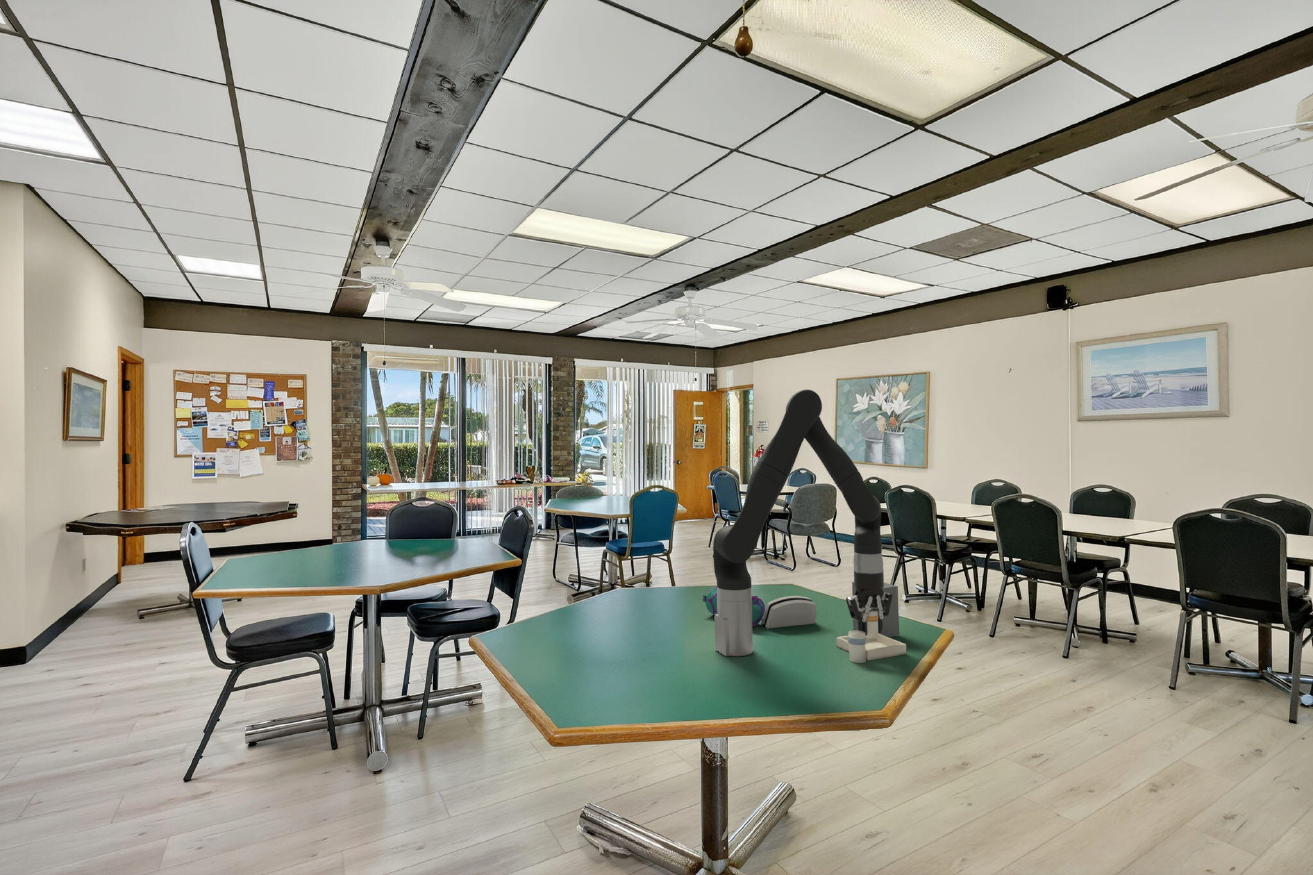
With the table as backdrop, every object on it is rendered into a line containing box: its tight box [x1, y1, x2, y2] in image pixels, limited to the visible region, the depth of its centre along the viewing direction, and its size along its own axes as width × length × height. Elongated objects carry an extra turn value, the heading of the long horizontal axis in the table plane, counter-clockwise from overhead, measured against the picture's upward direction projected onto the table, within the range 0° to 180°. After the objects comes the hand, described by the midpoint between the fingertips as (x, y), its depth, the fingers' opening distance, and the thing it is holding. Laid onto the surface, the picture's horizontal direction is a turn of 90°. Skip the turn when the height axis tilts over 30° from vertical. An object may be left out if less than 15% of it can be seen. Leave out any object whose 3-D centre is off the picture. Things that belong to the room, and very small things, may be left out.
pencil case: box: [702, 586, 766, 627], centre depth 195 cm, size 21×9×10 cm, turn 36°
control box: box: [851, 581, 900, 638], centre depth 179 cm, size 9×10×14 cm
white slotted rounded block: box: [760, 595, 817, 629], centre depth 188 cm, size 17×5×10 cm, turn 106°
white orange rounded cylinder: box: [864, 608, 878, 639], centre depth 163 cm, size 4×4×7 cm
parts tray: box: [836, 634, 907, 662], centre depth 163 cm, size 12×12×2 cm
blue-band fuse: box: [847, 630, 867, 664], centre depth 156 cm, size 4×4×7 cm
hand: (870, 633), depth 163 cm, fingers closed on white orange rounded cylinder, 4 cm apart
